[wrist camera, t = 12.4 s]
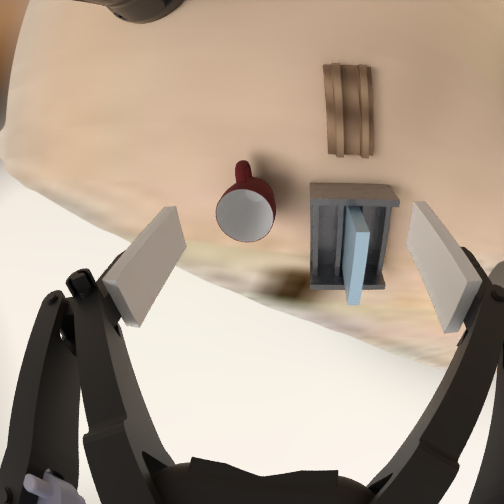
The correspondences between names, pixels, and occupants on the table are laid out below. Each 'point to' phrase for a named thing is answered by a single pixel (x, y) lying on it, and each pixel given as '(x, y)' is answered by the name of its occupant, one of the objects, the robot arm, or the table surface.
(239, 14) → the table surface
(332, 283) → the rack
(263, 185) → the mug
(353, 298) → the light blue slab
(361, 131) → the stand
